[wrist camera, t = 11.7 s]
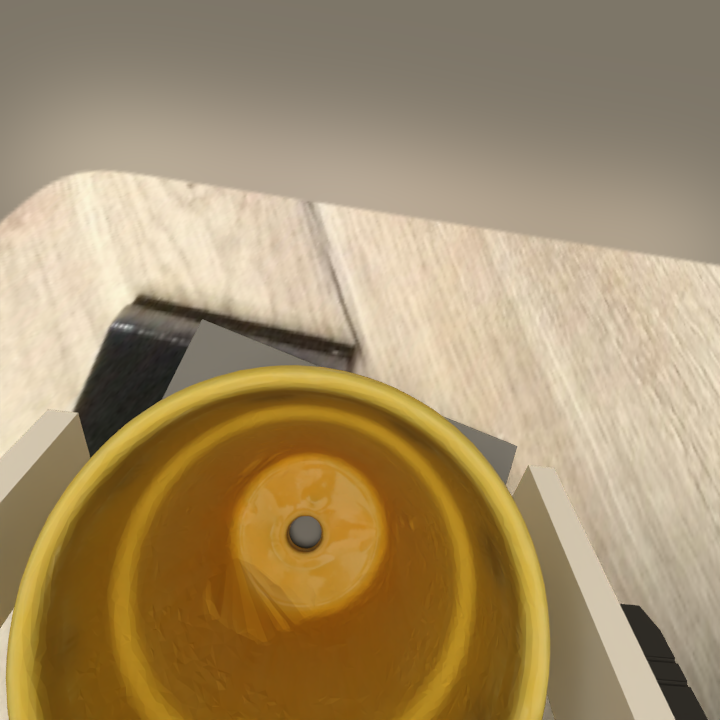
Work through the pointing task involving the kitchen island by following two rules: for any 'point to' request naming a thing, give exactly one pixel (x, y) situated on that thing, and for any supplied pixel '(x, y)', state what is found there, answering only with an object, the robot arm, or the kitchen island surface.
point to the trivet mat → (236, 352)
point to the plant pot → (282, 566)
